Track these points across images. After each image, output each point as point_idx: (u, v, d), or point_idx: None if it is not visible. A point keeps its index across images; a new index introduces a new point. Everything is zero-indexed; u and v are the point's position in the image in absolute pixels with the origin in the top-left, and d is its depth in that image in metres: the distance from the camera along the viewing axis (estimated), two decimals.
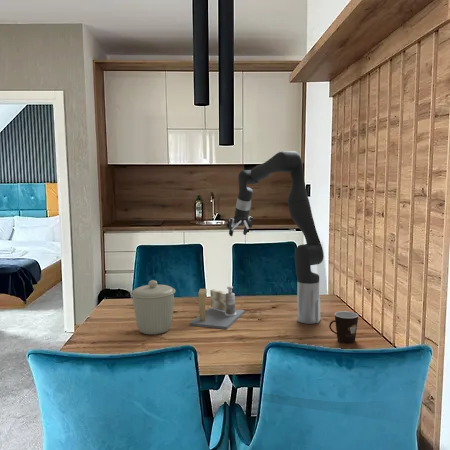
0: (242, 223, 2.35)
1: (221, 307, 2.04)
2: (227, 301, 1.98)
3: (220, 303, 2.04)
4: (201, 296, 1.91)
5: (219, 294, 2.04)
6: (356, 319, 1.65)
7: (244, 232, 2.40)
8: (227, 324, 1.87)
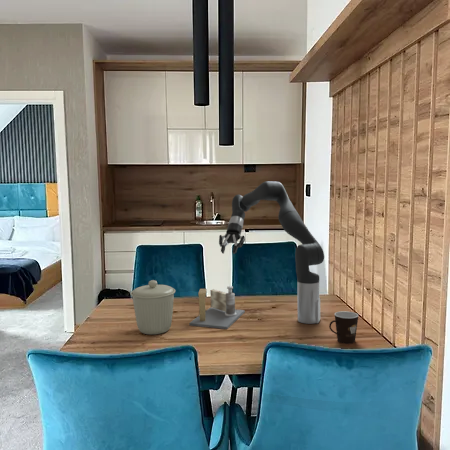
0: (231, 238, 2.30)
1: (221, 307, 2.04)
2: (227, 301, 1.98)
3: (220, 303, 2.04)
4: (201, 296, 1.91)
5: (219, 294, 2.04)
6: (356, 319, 1.65)
7: None
8: (227, 324, 1.87)
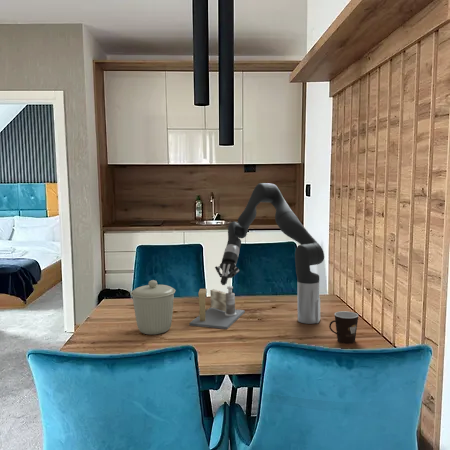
0: (226, 267, 2.24)
1: (221, 307, 2.04)
2: (227, 301, 1.98)
3: (220, 303, 2.04)
4: (201, 296, 1.91)
5: (219, 294, 2.04)
6: (356, 319, 1.65)
7: None
8: (227, 324, 1.87)
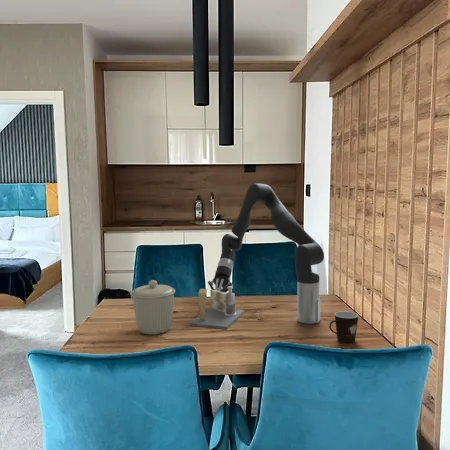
0: (219, 282, 2.15)
1: (221, 307, 2.04)
2: (227, 301, 1.98)
3: (220, 303, 2.04)
4: (201, 296, 1.91)
5: (219, 294, 2.04)
6: (356, 319, 1.65)
7: None
8: (227, 324, 1.87)
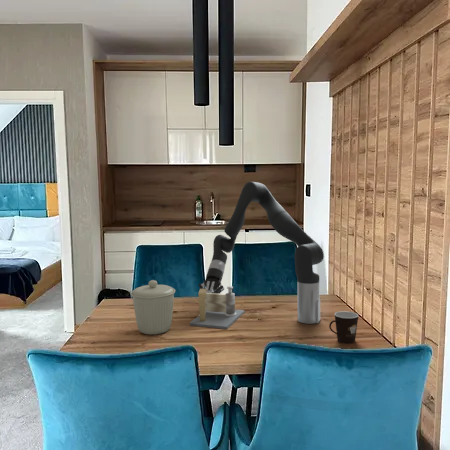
0: (210, 285, 2.10)
1: (218, 308, 2.01)
2: (229, 301, 1.98)
3: (217, 305, 2.01)
4: (201, 296, 1.91)
5: (216, 295, 2.01)
6: (356, 319, 1.65)
7: None
8: (227, 324, 1.87)
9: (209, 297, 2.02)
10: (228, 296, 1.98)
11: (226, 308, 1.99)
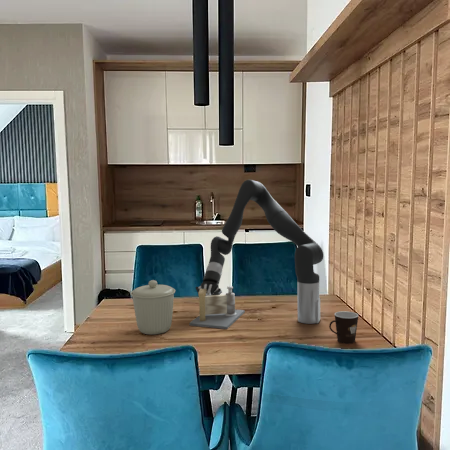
0: (207, 288, 2.05)
1: (218, 310, 1.99)
2: (231, 301, 1.98)
3: (218, 307, 1.98)
4: (201, 296, 1.91)
5: (217, 297, 1.98)
6: (356, 319, 1.65)
7: None
8: (227, 324, 1.87)
9: (209, 300, 1.97)
10: (230, 296, 1.98)
11: (227, 308, 1.99)
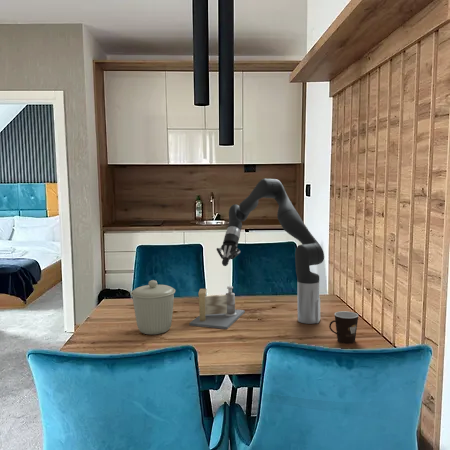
0: (227, 248, 2.26)
1: (218, 310, 1.99)
2: (231, 301, 1.98)
3: (218, 307, 1.98)
4: (201, 296, 1.91)
5: (217, 297, 1.98)
6: (356, 319, 1.65)
7: None
8: (227, 324, 1.87)
9: (209, 300, 1.97)
10: (230, 296, 1.98)
11: (227, 308, 1.99)
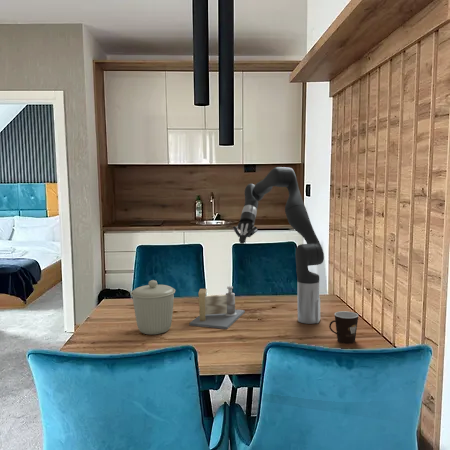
0: (244, 227, 2.25)
1: (218, 310, 1.99)
2: (231, 301, 1.98)
3: (218, 307, 1.98)
4: (201, 296, 1.91)
5: (217, 297, 1.98)
6: (356, 319, 1.65)
7: None
8: (227, 324, 1.87)
9: (209, 300, 1.97)
10: (230, 296, 1.98)
11: (227, 308, 1.99)
